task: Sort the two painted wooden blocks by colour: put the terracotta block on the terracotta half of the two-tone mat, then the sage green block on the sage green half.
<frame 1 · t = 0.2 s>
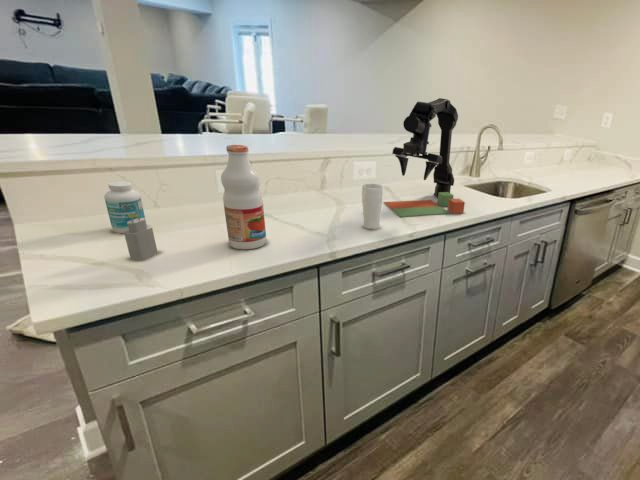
hand: (413, 177, 147), 15 cm above the countertop, tool pointing down, fingers open, 9 cm apart
fruit juice: (248, 244, 111), on the countertop
terracotta block: (455, 211, 165), on the countertop
sorting mat: (416, 208, 162), on the countertop
sage block: (444, 204, 172), on the countertop
drinking glass: (371, 227, 136), on the countertop
power adapter: (144, 256, 98), on the countertop
pill bottle: (130, 230, 110), on the countertop
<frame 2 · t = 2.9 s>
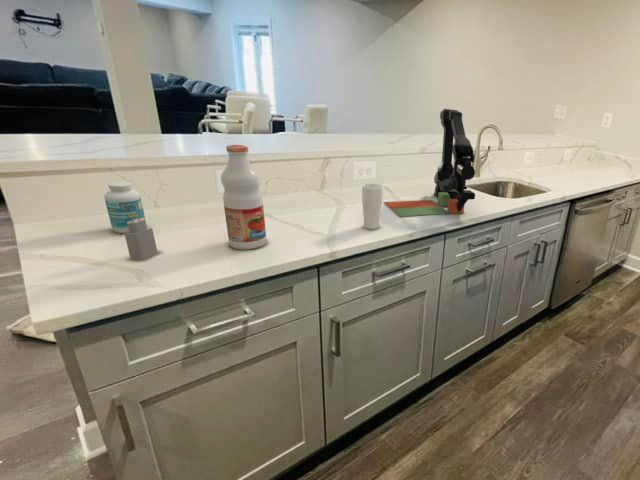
hand: (455, 209, 164), 1 cm above the countertop, tool pointing down, fingers closed on terracotta block, 5 cm apart
terracotta block: (455, 211, 165), on the countertop, touching gripper
everything else where it was.
when the fingers open (1 cm above the countertop, at t = 8.2 s): terracotta block stays where it is, resting on sorting mat.
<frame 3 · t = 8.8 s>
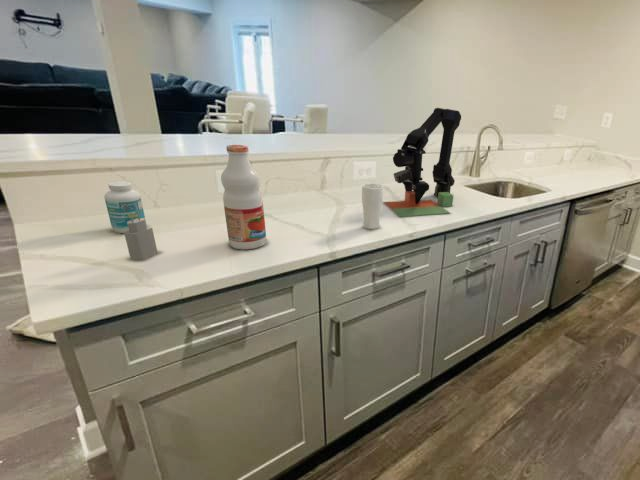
hand: (412, 200, 165), 2 cm above the countertop, tool pointing down, fingers open, 9 cm apart
terracotta block: (412, 203, 165), resting on sorting mat
everything else where it was.
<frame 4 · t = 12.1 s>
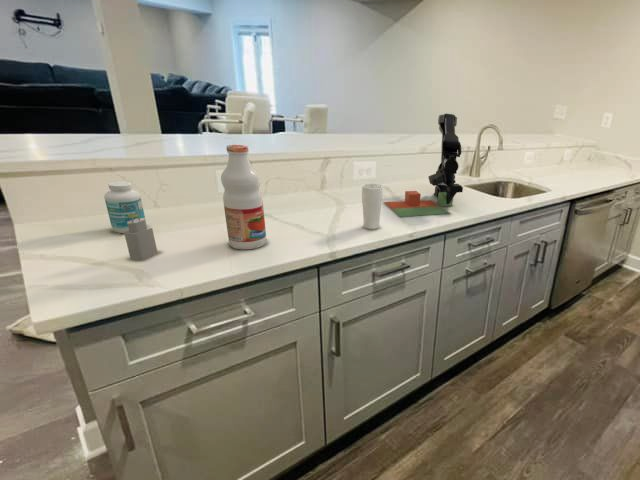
hand: (445, 202, 172), 1 cm above the countertop, tool pointing down, fingers closed on sage block, 5 cm apart
sage block: (444, 204, 172), on the countertop, touching gripper
everything else where it was.
when the fingers open (1 cm above the countertop, at t = 17.2 s): sage block stays where it is, resting on sorting mat.
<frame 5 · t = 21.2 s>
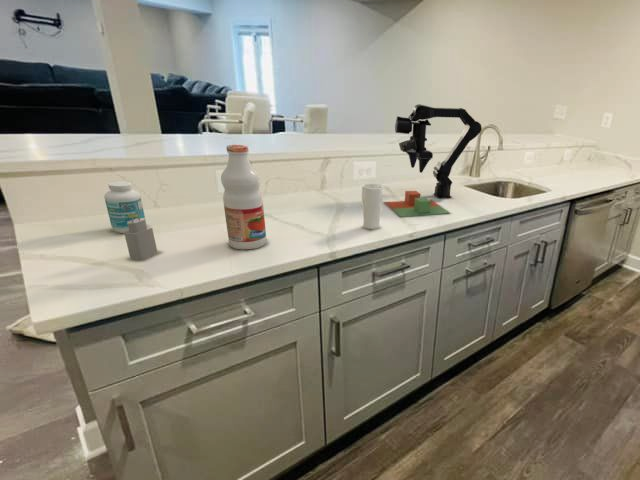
hand: (416, 170, 174), 12 cm above the countertop, tool pointing down, fingers open, 9 cm apart
sage block: (422, 211, 158), resting on sorting mat
everything else where it was.
at the end: terracotta block inside the target area (0.2 cm from its centre), resting on sorting mat; sage block inside the target area (0.3 cm from its centre), resting on sorting mat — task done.
